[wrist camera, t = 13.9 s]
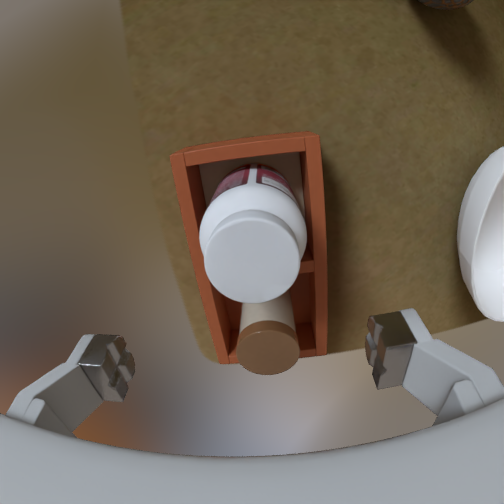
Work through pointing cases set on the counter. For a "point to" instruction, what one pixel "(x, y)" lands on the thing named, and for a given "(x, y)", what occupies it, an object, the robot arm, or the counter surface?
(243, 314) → the spice jar
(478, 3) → the counter surface
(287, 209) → the pill bottle
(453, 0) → the vase
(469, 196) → the bowl
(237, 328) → the divided tray
